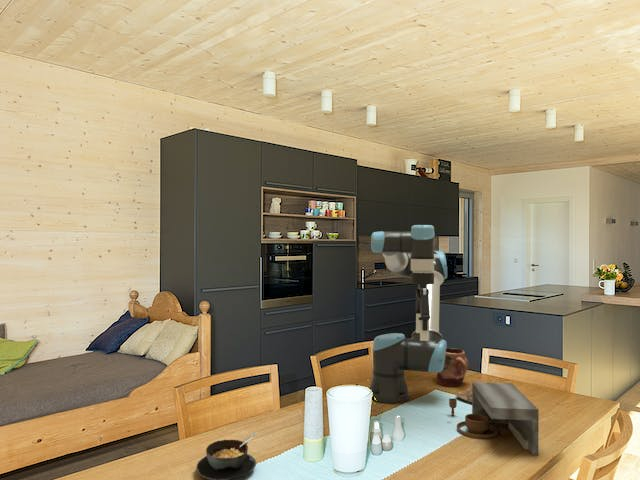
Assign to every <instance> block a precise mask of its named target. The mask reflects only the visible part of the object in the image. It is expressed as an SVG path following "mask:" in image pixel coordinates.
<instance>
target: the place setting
mask: <svg viewBox="0 0 640 480" xmlns="http://www.w3.org/2000/svg"><path fill="white" fill-rule="evenodd" d="M457 402H458V401H457V399H456V398H449V399H448V405H449V408H450V409H451V411H450V413H451V415H450V416H451V417H455V408H457ZM451 422H452V421H448V424H451ZM463 427H466V429H468V430H469V431H470V432H467V431H464V430H462V429H461V428H463ZM456 429H457V432H459V433H460V434H461V435H463V436H465V437H467V438H468V437H469V438H471V439H472V438H473V439H483V440H485V439H491V438H494V437H496V436H497V435H498V432H500V433H501V434H502V437H503V438H504V437H506V436H505V434H506V429H504V428H503V427H501V428H499V429H498V428H497V427H496V426H495V425H494V424H492V423H489V418H488V417H486V416H484V415H480V414H472V413H468V414H466V415H465V417H464V420H463V421H460V422H458V423H457V424H456ZM488 429H489V430H491V431H492V432H493V433H489V434H484V432H486V431H488ZM498 430H499V431H498Z"/></svg>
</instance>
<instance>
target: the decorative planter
mask: <svg viewBox="0 0 640 480" xmlns="http://www.w3.org/2000/svg"><path fill="white" fill-rule="evenodd" d="M469 366H470V365H469V361H468V359H467V357H466V353H465V351H464V350H463V348H462V349H461V348H452V347H447V348H446V357H445V364H444V368H443V370H442V371H441V372H436V380H437V382H438V384H440V385H441V386H445V387H458V386H461V385H462V384H464V383H463V382H464V379H465V376H466V374H467V371H468V370H469Z"/></svg>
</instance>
